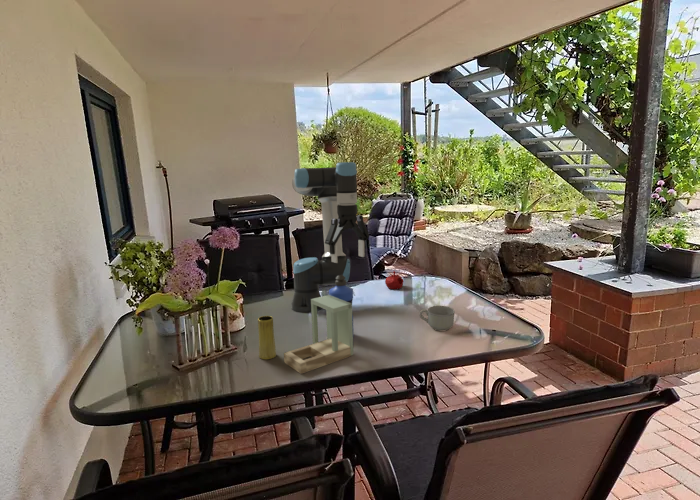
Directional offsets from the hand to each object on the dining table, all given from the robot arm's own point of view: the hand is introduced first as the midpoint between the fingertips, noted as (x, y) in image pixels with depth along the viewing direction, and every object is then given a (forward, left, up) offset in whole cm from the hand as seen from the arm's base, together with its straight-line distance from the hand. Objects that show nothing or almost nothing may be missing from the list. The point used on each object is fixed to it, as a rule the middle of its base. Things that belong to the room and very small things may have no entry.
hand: (348, 259), depth 169 cm
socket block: (+10, -22, -31) cm, 39 cm away
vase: (-4, -35, -31) cm, 47 cm away
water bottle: (-1, -4, -31) cm, 31 cm away
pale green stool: (+8, -15, -31) cm, 35 cm away
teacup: (+17, +31, -31) cm, 47 cm away
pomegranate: (-37, +58, -31) cm, 76 cm away
